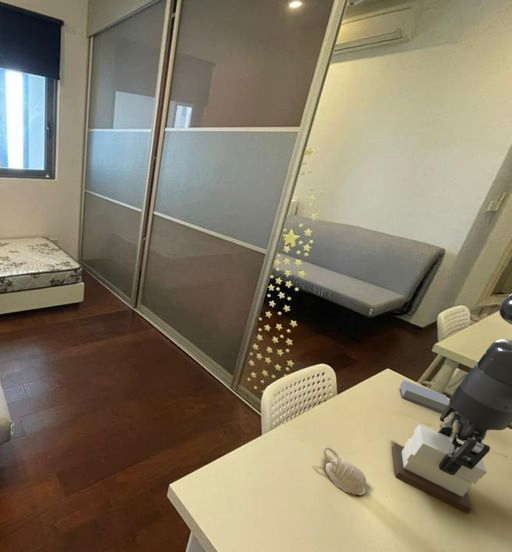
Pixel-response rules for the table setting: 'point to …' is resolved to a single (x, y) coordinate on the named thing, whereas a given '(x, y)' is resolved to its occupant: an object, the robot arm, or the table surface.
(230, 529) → the table surface
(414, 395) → the blue-grey block
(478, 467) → the white rectangular block
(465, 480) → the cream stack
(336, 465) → the decorative ornament
